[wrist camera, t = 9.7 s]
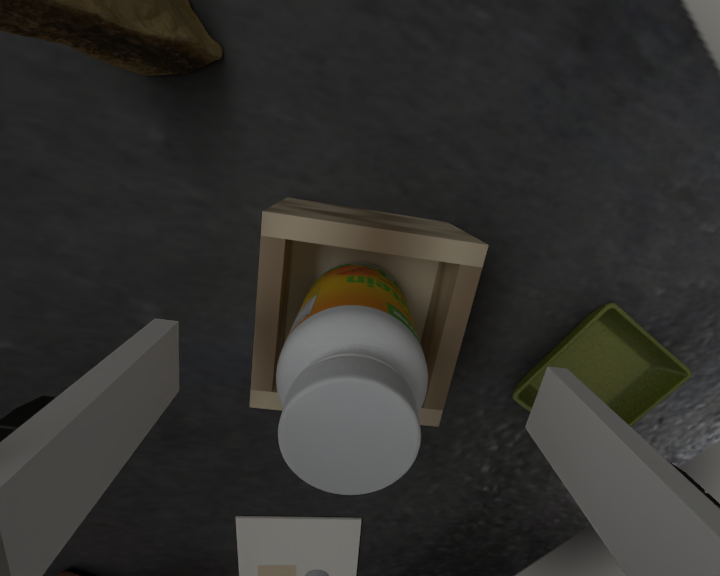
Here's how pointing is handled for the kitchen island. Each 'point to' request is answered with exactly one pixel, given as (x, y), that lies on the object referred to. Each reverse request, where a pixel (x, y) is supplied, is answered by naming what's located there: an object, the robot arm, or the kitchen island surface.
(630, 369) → the green tray
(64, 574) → the teapot
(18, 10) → the rock
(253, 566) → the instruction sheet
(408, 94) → the kitchen island surface
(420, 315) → the wooden crate
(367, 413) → the supplement bottle
